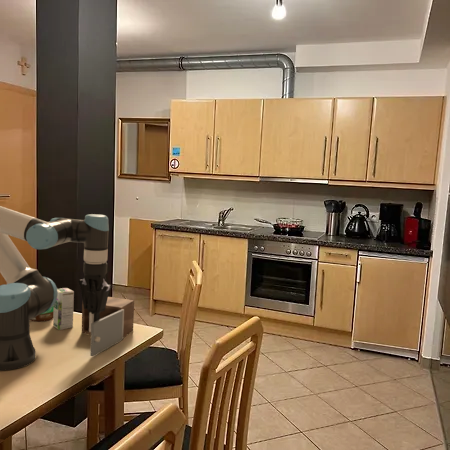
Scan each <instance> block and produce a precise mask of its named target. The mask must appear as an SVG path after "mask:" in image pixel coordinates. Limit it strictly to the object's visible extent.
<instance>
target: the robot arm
mask: <svg viewBox="0 0 450 450" xmlns="http://www.w3.org/2000/svg"><path fill="white" fill-rule="evenodd" d="M109 231H110V228H109V217H108V216H107V215H105V214H100V213H99V214H95V213H94V214H93V213H91V214H89V213H88V214H86V215H85V216H84V219H74V218H66V217H54V218H51V219H50V221H45V220H43V219H39V218H37V217H34V216H31V215H28V214H25V213H22V212H19V211H16V210H13V209H11V208H8V207H5V206H1V205H0V275H1V276H2V278H4V281H5V282H6V284H1V285H0V371H11V370H16V369H20V368H23V367H27V366H28V365H31V364H32V363H33V362H34V361H35V360H36V355H37V354H36V348H35V347H34V343H33V341H32V337H31V334H30V332H31V331H30V329H31V328H30V327H31V324H30V323H31V321H30V319H32V318H34V317H36V316H38V315H40V314H41V313H44V312H46V311H47V310H49V309H50V308H51V307H52V306H53V305H54V304H55V302H56V300H57V295H58V292H57V289H58V287H57V285H56V283H55V282H54V281H53V280H52V279H51V278H49V277H46V276H42V274H41V273H40V272H39V270H38V269H37V268H36V269H35V268H32V267H30V265H29V264H28V262H27V261H26V260H25V258H24V257H23V255H22V254H21V252H20V251H19V249H18V247H17V246H16V245H15V243H14V242H13V240H12V239H11V238H10V236H11V237H12V238H16V239H19V240H21V241H25V242H27V244H28V245H29V246H30V247H31V248H33V249H35V250H47V249H50V248H53V247H56V246H58V245H62V244H65V243H82V244H83V261H84V262H83V270H82V271H83V274H84V277H83V278H82V279H79V280H78V284H79V286H80V290H81V291H80V293H81V297H82V298H81V299H82V302H83V306H84V309H87V310H88V320H89V332H91V323H93V322H95V321H97V320H99V319H100V318H99V317H100V312H102V311H105V307H106V303H107V299H108V297H109V294H110V291H111V289H112V285H111V284H108V282H107V278H106V274H107V273H108V263H107V261H108V251H109V249H108V248H109V247H108V245H109ZM87 304H88V305H87Z"/></svg>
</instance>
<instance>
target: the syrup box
mask: <svg viewBox="0 0 450 450" xmlns="http://www.w3.org/2000/svg"><path fill="white" fill-rule="evenodd" d="M57 292H58V295H57V300H56V302H55V304H54V313H53V319H52V320H53V322H52V325H53V327H54V328H56V329H57V330H58V331H61V330H62V331H63V330H66V329H71V328H74V326H73V325H74V302H75V301H74V300H75V298H74V297H75V291H74V290H72V289H70V288H68V287H62V288H61V287H60V288H57Z"/></svg>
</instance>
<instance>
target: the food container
mask: <svg viewBox="0 0 450 450" xmlns="http://www.w3.org/2000/svg"><path fill="white" fill-rule="evenodd" d="M53 313H54V305H53V306H52V307H51V308H50V309H49V310H47V311H46V312H44V313H41V314H40V315H38V316H36V317H34V318H32V319H30V322H33V323H43V322H49V321H51V320H53Z"/></svg>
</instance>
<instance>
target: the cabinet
mask: <svg viewBox="0 0 450 450" xmlns="http://www.w3.org/2000/svg"><path fill="white" fill-rule="evenodd" d="M81 303H82V304H81V334H83V335H84V334H85V335H90V336H91V332H89V320H88V310H87V309H84V306H83V301H82V302H81ZM87 305H88V304H87ZM121 309H124V329H123V339H124V338H125V337H127V336H128V335H129V334H131V333H133V331H134V319H135V318H134V317H135V316H134V315H135V313H134V312H135V300H134V299H133V300H132V299H128V298H127V299H126V298H118V297H114V296H108V299H107V303H106V307H105V311H102V312H100V317H99V318H100V319H102V318H104V317H106V316H108V315H111V314H113V313H115V312H117V311H119V310H121ZM100 319H99V320H100Z"/></svg>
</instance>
